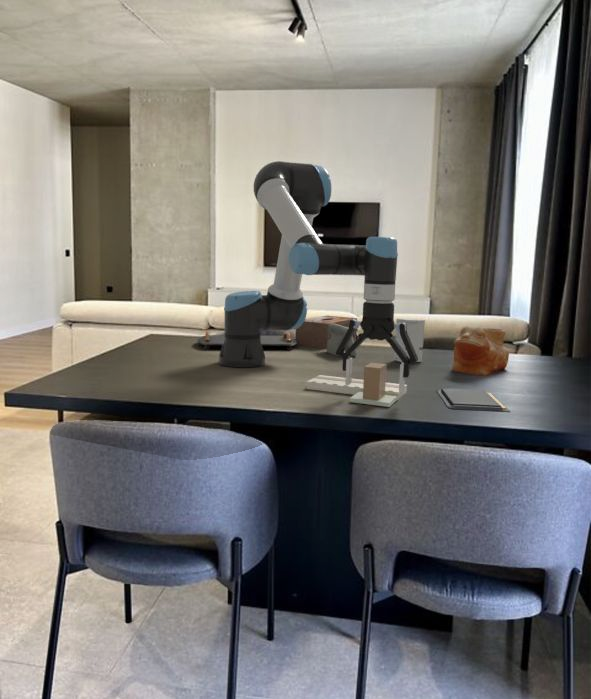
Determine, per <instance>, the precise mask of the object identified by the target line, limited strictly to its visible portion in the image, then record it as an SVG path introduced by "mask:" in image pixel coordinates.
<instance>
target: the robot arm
mask: <svg viewBox="0 0 591 699" xmlns="http://www.w3.org/2000/svg"><path fill="white" fill-rule="evenodd" d="M253 193H254V197H255V198H256V199H255V200H256V201H257V203H258V205H259V206H260V207H261V208H262V209H264V210H266V211H267V212H268V214H269V215H270V217H271V219H272V220H273V222H274V224H275V225H276V226H277V228H278V231H280V233H281V238H280V239H281V240H280V245H279V251H278V256H277V263H276V268H275V273H274V274H275V275H274V280H273V283H272V284H271V285H270V286H268V288H267V293H266V294H262V292H261V291H260V290H243V291H236V292H231V293H229V294H228V295H226V297H225V299H224V307H223V311H224V335H225V336H224V343H223V345H221V348H220V351H219V355H218V364H219V365H221V366H223V367H224V366H225V367H228V368H229V367H230V368H231V367H232V368H256V367H261V366H264V365H266V354H265V351H264V348H263V346H262V344H261V340H260V336H261V332H263V331H264V332H265V331H266V332H267V331H284V332H285V331H290V330H296V329H297V328H299V327H300V326H301V325H302V324H303V322H304V321H305V319H307V318H306V317H307V314H308V308H307V306H308V303H307V300H306V298H305V297H304V294H303V291H302V290H301V282H302V280H303V275H306V276H313V275H314V276H316V275H317V276H318V275H319V276H320V275H321V276H323V275H324V276H325V275H326V276H327V275H332V276H333V275H334V276H364V280H363V281H364V282H363V300H365V301H363V303H362V319H361V320H358V319H357V320H356V319H353V320H350V323H349V329H348V331H347V332H346V334H345V336H344V338H343V340H342V342H341V343H340V345H339V347H338V349H337V351H336V355H339V356H338V357H341V358H342V371H343V372H345V378H346V381H345V385H349V384H351V383H352V379H353V377H352V375H353V358H354V357H351V356H350V355H351V354H352V353H353V352H354V351H355V350H356V349H358V348H360V346H361V345H362V344H363V342H365V340H366V339H369V340H371V341H372V340H378V341H384V340H385V341H386V342H387V343H388V344H389V345H390V347H391V348H392V349H393V351H395V352H396V354H397V355H398V356H399V358H400V359H401V360H402V362H403V363H401V364H400V365H399V381H398V384H399V391H403V390H404V386H405V385H406V384H405V383H406V379H407V378H409V377H410V369H411V364H415V363H417V362H416V361H418V357H417V355H416V352H415V350H414V347H413V345H412V343H411V340H410V338H409V336H408V333H407V325H406V323H402V324H396V322H395V320H394V317H395V316H394V315H395V304H394V301H395V300H396V280H397V269H398V267H397V266H398V255H399V253H398V240H397V239H396V238H395V237H391V236H389V237H388V236H368V237H367V238H366V240H365V242H366V243H365V245H363V244H362V245H359V244H333V243H332V244H331V243H329V244H328V243H323V241H322V240H321V239H320V237H319V236H318V235H317V233H316V232H315V230H314V228H313V221H314V218H315V217H317V216H318V215H319V214H320V212H321V208H322V207H325V206H327V205H328V203H329V202H330V200H331V197H332V180H331V177H330V174H329V172H328V170H327V169H326V168H325V167H323V166H322V165H316V164H312V163H302V162H287V161H279V160H278V161H272V162H269V163H267V164H266V165H264V166H263V167H262V168H260V169H259V171H258V172H257V174H256V176H255V178H254V181H253ZM359 328H361V330H362V331H363V332H362V333H361V334H360V335H359V337H358V338H356V341H355V342H354V343H353V344H352V345H351V347H350V348H349V349H348V350H347V351H346V352H345V351H344V350H345V348H346V347H347V345H348V343H349V341H350V339H351V337H352V336H353V334H354V332H355V330H356V329H359ZM396 329H397V332H399V333H400V336H401V338H402V341H403V343H404V345H405V348H406V350H407V352H408V355H409V357H410V358H409V357H408V356H407V354H406V353H405V352H404V350H403V349H402V348H401V346H400V345H399V344H398V342H397V341H396V340H395V336H394V335H393V333H392V332H393V331H394V330H396Z"/></svg>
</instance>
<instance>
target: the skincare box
mask: <svg viewBox="0 0 591 699" xmlns="http://www.w3.org/2000/svg"><path fill="white" fill-rule="evenodd" d="M402 323H406V325H407V333H408V336H409V338H410V340H411V343H412V345H413V347H414V350H415V352H416V355H417V357H418V361H416V362H415V363H422V362H423V352H424V351H423V348H424V338H425V337H424V336H425V325H426V324H425V323H426V320H425V319H418V318H402V317H401V318H400V317H399V318H396V322H395V324H402ZM394 337H395V340H396V341H397V342H398V344H399V345H400V346H401V348H402V349H403V350H404V352H405V353H406V354H407V356H408V357H409V355H408V352H407V350H406V348H405V345H404V343H403V341H402V338H401V336H400V333H399V332H397V329H395V336H394ZM393 351H394V350H393ZM393 354H394V356H393V360H394V361H397V362H400V363H401V364H402V363H403V362H402V360H401V359H400V358H399V356H398V355H397V354H396V352H395V351H394V353H393ZM409 358H410V357H409Z"/></svg>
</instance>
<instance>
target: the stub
mask: <svg viewBox="0 0 591 699" xmlns="http://www.w3.org/2000/svg"><path fill="white" fill-rule="evenodd" d="M386 379H387V364H386V363H378V362H377V363H376V362H370V363H368V364H366V365H365V366H363V380H364V383H363V392H361V391H359V392H358V393H356V394H355V395H352V396H351V397H349V402H350V403H355V404H362V405H363V404H365V405H370V406H379V407H385V408H386V407H387V408H390V407H391V406H392V405H393V404H394V403H395V402H397V401H398V400H397V396H394V395H385V384H386V383H387V382H386V381H387V380H386Z"/></svg>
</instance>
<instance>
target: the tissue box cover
mask: <svg viewBox="0 0 591 699" xmlns="http://www.w3.org/2000/svg"><path fill="white" fill-rule="evenodd" d="M353 319H356V320H357V321H358V318H357V317H348V316H346V317H345V316H338V315H337V316H336V315H321V316H314V317H310V318H309V317H308V318H305V321H304V322H303V324H302V325H301V326H300V327H299V328H297V329H295V339H296V340H297V344H296V345H295V346H302V347H311V348H318V349H319V348H320V349H326V350H327V341H328V340H329V339H330V338H331V336H330V332H329V328H328V325H329V324H330V323H333V324H337V325H341V326H344V327H347V328H349V323H350V320H353ZM357 329H358V328H357ZM357 329H356V330H355V332H354V334H353V339H354V342H355V341H356V340H357Z"/></svg>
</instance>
